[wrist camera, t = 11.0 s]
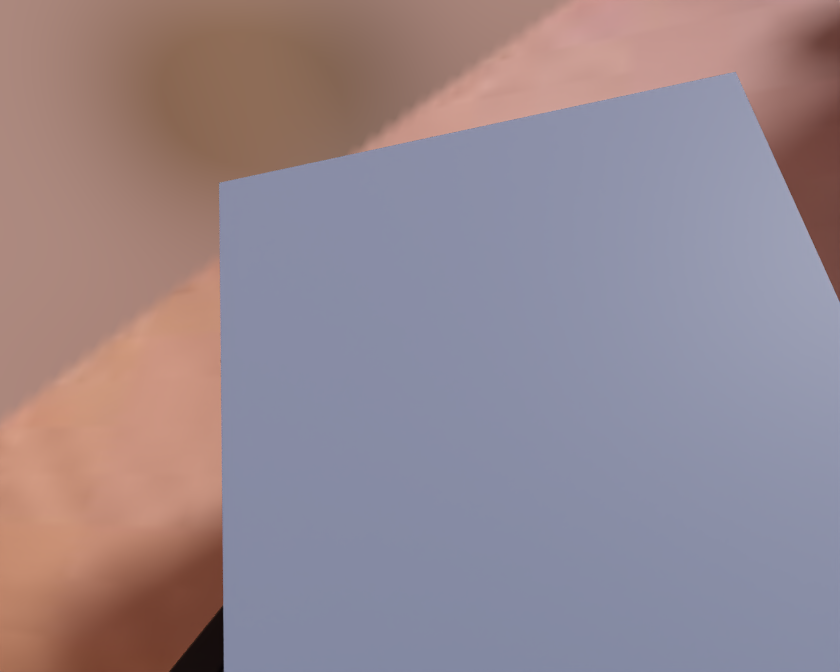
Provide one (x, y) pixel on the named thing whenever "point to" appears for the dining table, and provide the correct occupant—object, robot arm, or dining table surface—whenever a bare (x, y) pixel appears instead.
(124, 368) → the dining table surface
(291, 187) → the blue-gray inverted t block
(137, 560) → the dining table surface
